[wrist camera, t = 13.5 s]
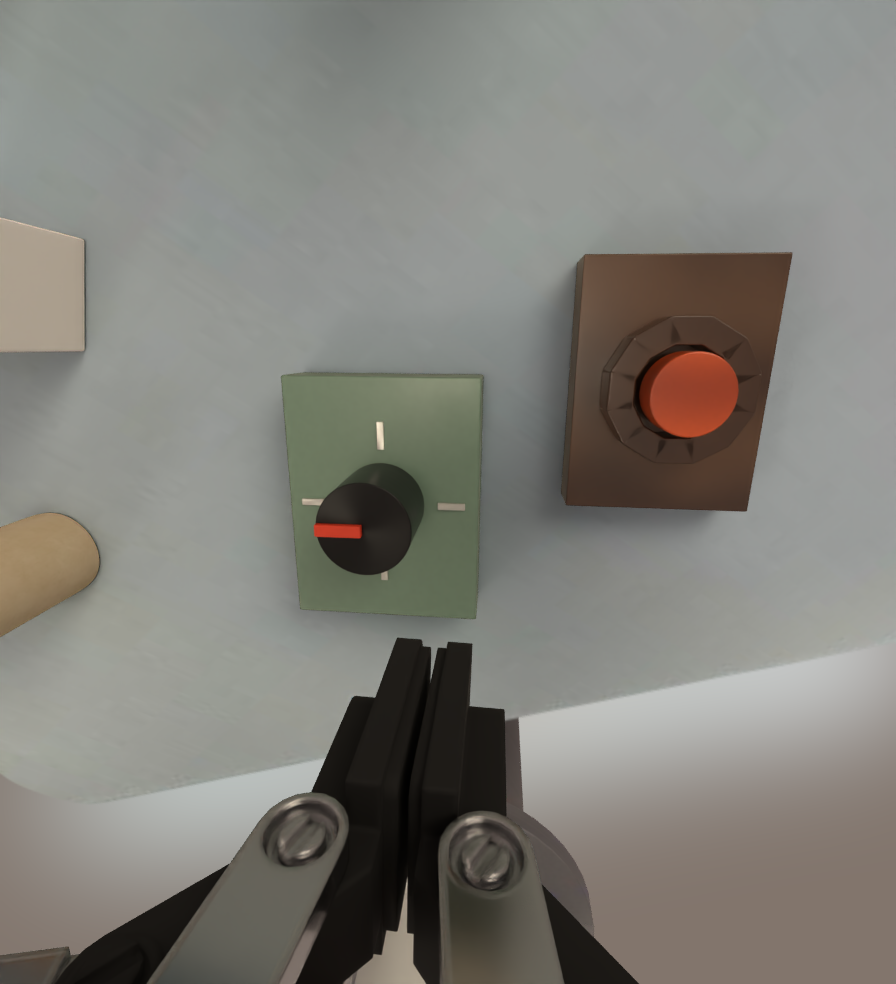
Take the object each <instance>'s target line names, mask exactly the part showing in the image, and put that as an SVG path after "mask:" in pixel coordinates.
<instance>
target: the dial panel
mask: <svg viewBox="0 0 896 984" xmlns="http://www.w3.org/2000/svg"><path fill="white" fill-rule="evenodd" d="M483 379H484V376H483V375H481V374H394V373H308V372H303V373H295V374H288V375H282V376H281V382H282V394H283V406H284V418H285V430H286V443H287V455H288V467H289V479H290V491H291V503H292V515H293V527H294V540H295V552H296V564H297V576H298V588H299V600H300V609H303V610H321V611H338V612H356V613H374V614H392V615H410V616H428V617H446V618H463V619H476V612H477V601H478V578H479V538H480V498H481V458H482V419H483ZM374 463H386V464H391V465H394V466H397V467H399V468H401V469H403V470H404V471H406V472H407V473H409V474H410V475H411V476H412V477H413V478H414V479H415V481H416V482H417V484H418V485H419V487H420V489H421V491H422V494H423V498H424V514H423V518H422V520H421V523H420V525H419V527H418V529H417V532H416V534H415V536H414V538H413V541H412V543H411V545H410V547H409V549H408V551H407V553H406V555H405V556H404V558H403V559H402V560H401V561H400V562H399V564H397V565H396V566H395V567H393V568H392V569H390V570H388V571H386V572H384V573H380V574H375V575H359V574H355V573H351V572H348V571H346V570H344V569H342V568H340V567H339V566H337V565H336V564H335V563H333V562H332V561H331V560H330V559H329V558H328V557H327V555H326V554H325V553H324V551H323V550H322V548H321V546H320V544H319V542H318V538H317V537H315V536H314V524H316V523H315V522H316V516H317V512H318V509H319V507H320V505H321V503H322V502H323V500H324V499H325V498H326V497H327V495H329V494H330V493H331V492H332V491H333V490H334V489H335V488H337V487H338V486H339V485H340V484H341V483H342V482H344V481H345V480H346V479H347V478H348V477H349V476H351V475H352V474H353V473H354V472H355V471H357V470H358V469H360V468H362V467H364V466H366V465H369V464H374Z"/></svg>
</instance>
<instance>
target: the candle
mask: <svg viewBox="0 0 896 984" xmlns="http://www.w3.org/2000/svg"><path fill="white" fill-rule="evenodd" d="M98 569H99V554H98V550H97V547H96V545H95V543H94V541H93V539H92V537H91V536H90V534H89V533H88V532H87V531H86V530H85V529H84V528H83V527H82V526H81V525H80V524H79V523H77V522H76V521H74V520H73V519H71V518H69V517H67V516H64V515H61V514H57V513H43V514H37V515H34V516H31V517H28V518H25V519H22V520H19V521H16V522H14V523H11V524H8V525H5V526H2V527H0V637H1V636H3V635H5V634H6V633H8V632H10V631H12V630H13V629H15V628H17V627H19V626H20V625H22V624H24V623H26V622H27V621H29V620H31V619H32V618H34V617H36V616H38V615H39V614H41V613H43V612H45V611H46V610H48V609H50V608H51V607H53V606H55V605H57V604H58V603H60V602H62V601H64V600H65V599H67V598H69V597H70V596H72V595H74V594H76V593H77V592H79V591H80V590H82V589H84V588H85V587H86V586H88V585H89V584H90V583H91V582H92V581H93V580H94V578H95V577H96V575H97V572H98Z"/></svg>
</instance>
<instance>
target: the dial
mask: <svg viewBox="0 0 896 984" xmlns="http://www.w3.org/2000/svg"><path fill="white" fill-rule="evenodd" d="M423 514H424V498H423V494H422V491H421V489H420V487H419V485H418V484H417V482H416V481H415V479H414V478H413V477H412V476H411V475H410V474H409V473H407V472H406V471H404V470H403V469H401V468H399V467H397V466H394V465H391V464H386V463H374V464H369V465H366V466H364V467H362V468H360V469H358V470H357V471H355V472H354V473H353V474H352V475H351V476H349V477H348V478H347V479H346V480H345V481H344V482H342V483H341V484H340V485H339V486H338V487H337V488H335V489H334V490H333V491H332V492H331V493H330V494H329V495H327V497H326V498H325V499H324V500H323V502H322V503H321V505H320V507H319V509H318V512H317V516H316V522H315V523H316V524H314V536H315V537H317V538H318V542H319V544H320V546H321V548H322V550H323V551H324V553H325V554H326V555H327V557H328V558H329V559H330V560H331V561H332V562H333V563H335V564H336V565H337V566H339V567H340V568H342V569H344V570H346V571H348V572H351V573H355V574H359V575H375V574H380V573H384V572H386V571H388V570H390V569H392V568H393V567H395V566H396V565H397V564H399V562H400V561H401V560H402V559H403V558H404V556H405V555H406V553H407V551H408V549H409V547H410V545H411V543H412V541H413V538H414V536H415V534H416V532H417V529H418V527H419V525H420V523H421V520H422V518H423Z"/></svg>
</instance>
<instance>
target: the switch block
mask: <svg viewBox="0 0 896 984" xmlns="http://www.w3.org/2000/svg"><path fill="white" fill-rule="evenodd" d="M791 259H792V253H791V252H782V253H683V254H585V255H584V256H583V257H582V258H581V259H580V260H579V261H578V263H577V274H576V288H575V302H574V316H573V331H572V345H571V359H570V373H569V387H568V401H567V416H566V430H565V444H564V458H563V472H562V486H561V494H562V497H563V499H564V501H565V504H566V505H574V506H603V507H631V508H660V509H689V510H718V511H747V507H748V501H749V495H750V490H751V484H752V478H753V473H754V467H755V461H756V456H757V450H758V445H759V439H760V433H761V428H762V422H763V416H764V411H765V405H766V399H767V394H768V388H769V383H770V377H771V371H772V366H773V360H774V354H775V349H776V343H777V337H778V332H779V326H780V321H781V315H782V309H783V304H784V298H785V292H786V287H787V281H788V275H789V270H790V264H791ZM679 351H704V352H710V353H713V354H716V355H718V356H720V357H721V358H723V359H724V360H725V361H727V362H728V364H729V365H730V366H731V367H732V369H733V370H734V372H735V374H736V377H737V381H738V398H737V402H736V405H735V408H734V409H733V411H732V413H731V415H730V416H729V418H728V419H727V420H726V421H725V422H724V423H723V424H722V425H721V426H720V427H718V428H717V429H715V430H714V431H712V432H710V433H708V434H705V435H702V436H699V437H692V438H685V437H679V436H675V435H672V434H670V433H668V432H666V431H664V430H662V429H660V428H658V427H656V426H655V425H653V424H652V423H651V422H650V421H649V420H648V419H647V418H646V416H645V415H644V413H643V411H642V409H641V405H640V399H639V392H640V386H641V383H642V380H643V378H644V376H645V374H646V373H647V371H648V370H649V369H650V367H651V366H652V365H653V364H654V363H655V362H657V361H658V360H659V359H661V358H662V357H664V356H666V355H668V354H671V353H674V352H679Z"/></svg>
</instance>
